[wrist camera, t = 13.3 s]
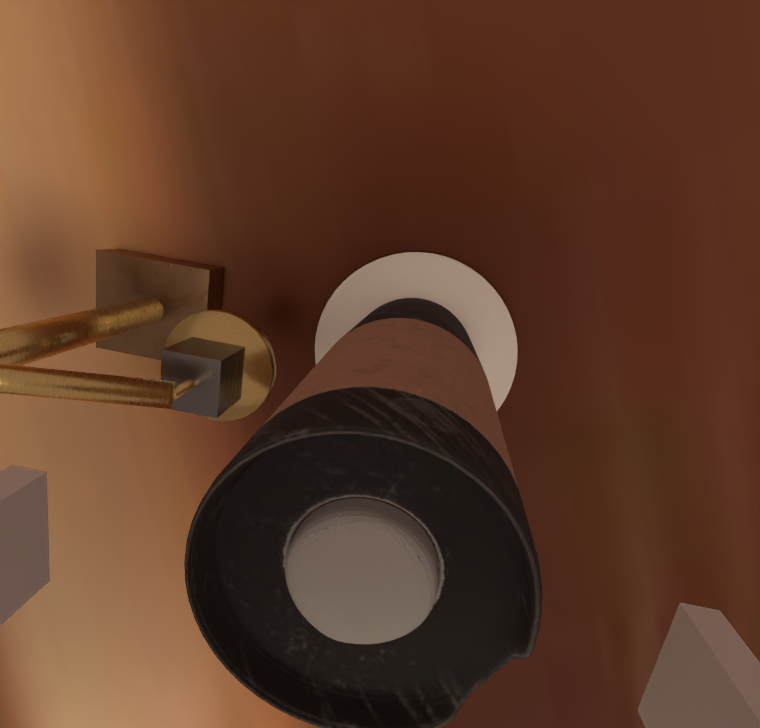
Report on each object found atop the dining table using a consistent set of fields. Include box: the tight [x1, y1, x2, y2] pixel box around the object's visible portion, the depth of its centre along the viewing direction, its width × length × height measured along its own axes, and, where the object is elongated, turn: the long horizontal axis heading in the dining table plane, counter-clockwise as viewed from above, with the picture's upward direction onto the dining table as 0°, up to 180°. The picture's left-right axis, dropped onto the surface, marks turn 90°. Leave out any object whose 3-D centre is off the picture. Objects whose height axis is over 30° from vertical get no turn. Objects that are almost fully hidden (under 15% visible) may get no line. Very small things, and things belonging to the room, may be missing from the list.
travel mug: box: [185, 298, 542, 728], centre depth 20 cm, size 8×8×20 cm
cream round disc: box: [315, 252, 518, 411], centre depth 30 cm, size 12×12×1 cm
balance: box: [0, 249, 276, 421], centre depth 23 cm, size 20×6×18 cm, turn 81°
